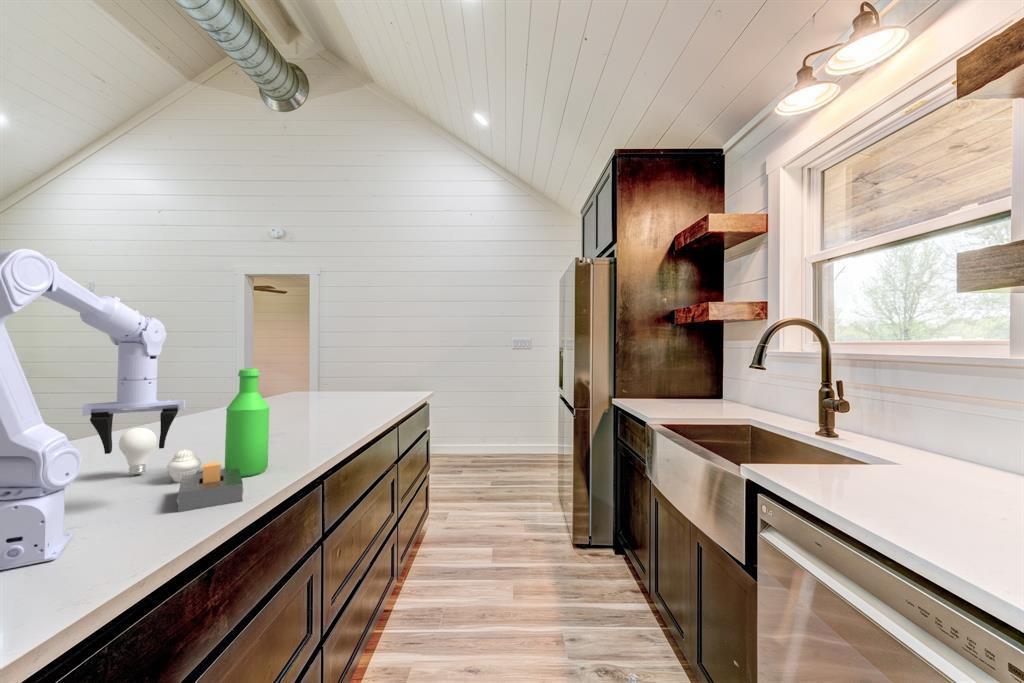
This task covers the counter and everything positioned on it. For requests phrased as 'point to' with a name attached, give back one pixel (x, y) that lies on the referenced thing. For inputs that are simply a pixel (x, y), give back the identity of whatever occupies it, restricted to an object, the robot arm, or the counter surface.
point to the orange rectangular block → (211, 472)
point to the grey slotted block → (209, 490)
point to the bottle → (247, 428)
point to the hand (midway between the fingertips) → (135, 450)
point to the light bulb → (137, 448)
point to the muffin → (183, 465)
